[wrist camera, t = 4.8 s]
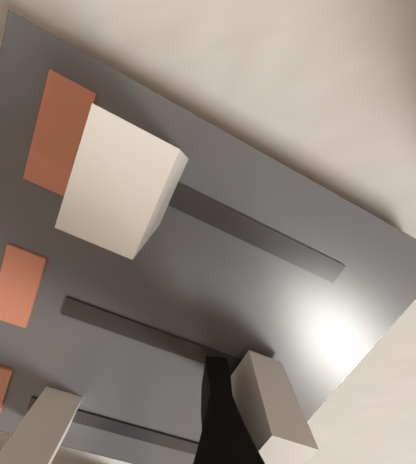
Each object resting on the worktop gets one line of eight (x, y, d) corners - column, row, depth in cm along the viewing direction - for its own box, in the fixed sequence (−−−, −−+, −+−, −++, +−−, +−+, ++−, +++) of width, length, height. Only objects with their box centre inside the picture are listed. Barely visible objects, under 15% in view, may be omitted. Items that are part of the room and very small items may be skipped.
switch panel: (409, 244, 11) (585, 305, 6) (239, 453, 16) (258, 588, 11) (52, 46, 8) (-202, -169, 3) (-27, 378, 13) (-180, 517, 8)
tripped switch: (281, 362, 11) (318, 449, 7) (253, 399, 11) (275, 494, 8) (248, 350, 10) (272, 435, 7) (221, 389, 11) (231, 484, 8)
